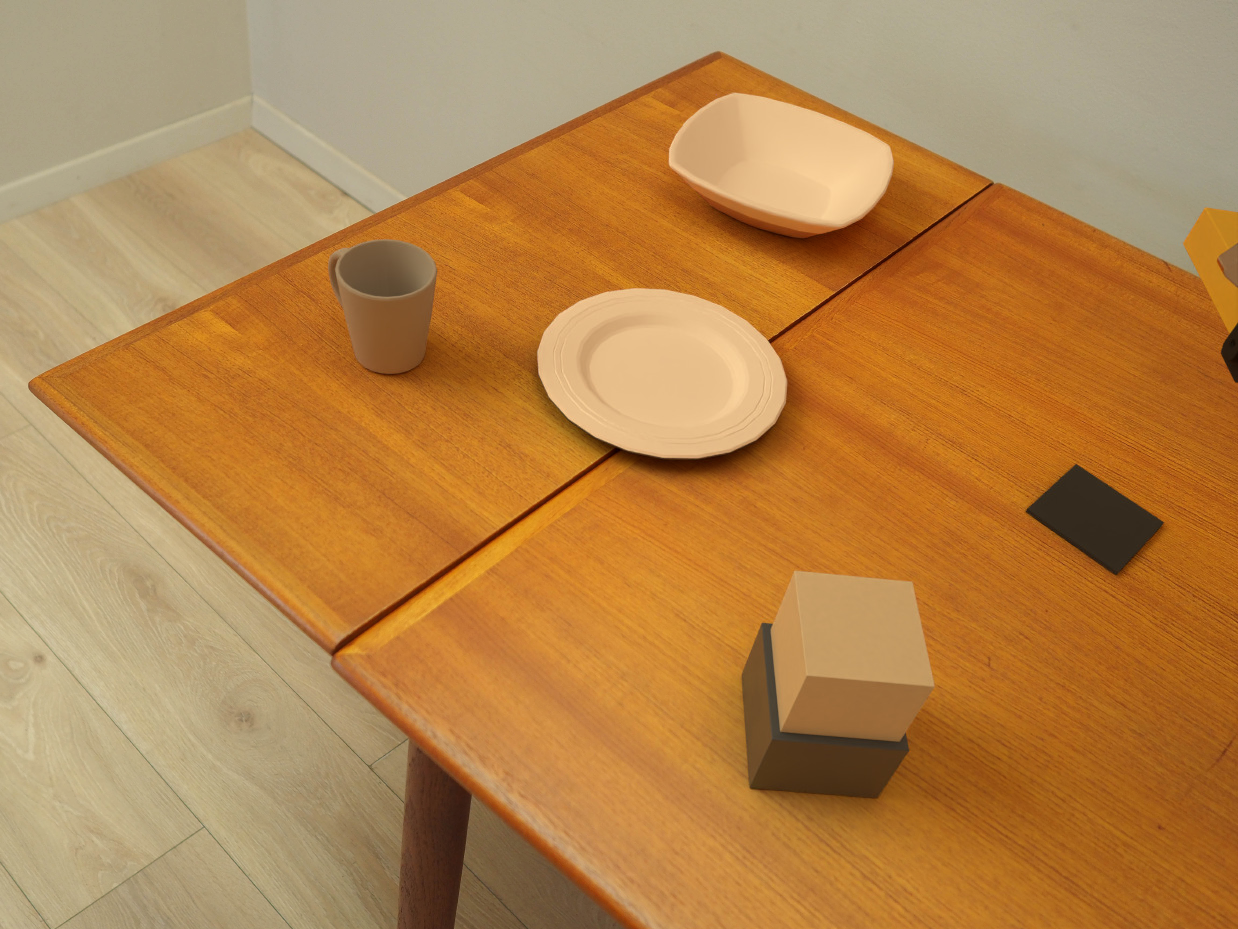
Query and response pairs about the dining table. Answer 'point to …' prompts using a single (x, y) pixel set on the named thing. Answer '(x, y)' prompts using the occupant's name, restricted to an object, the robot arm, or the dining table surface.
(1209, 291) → the bar
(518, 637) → the dining table surface
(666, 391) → the plate
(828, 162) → the bowl
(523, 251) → the dining table surface
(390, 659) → the dining table surface
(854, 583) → the tower
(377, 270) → the cup
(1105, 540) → the mat
